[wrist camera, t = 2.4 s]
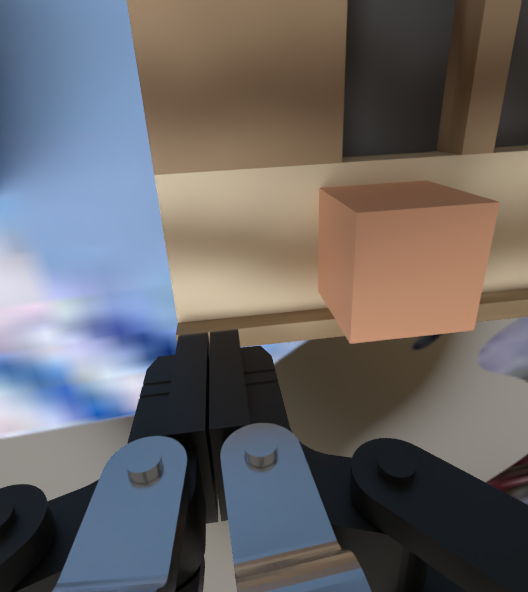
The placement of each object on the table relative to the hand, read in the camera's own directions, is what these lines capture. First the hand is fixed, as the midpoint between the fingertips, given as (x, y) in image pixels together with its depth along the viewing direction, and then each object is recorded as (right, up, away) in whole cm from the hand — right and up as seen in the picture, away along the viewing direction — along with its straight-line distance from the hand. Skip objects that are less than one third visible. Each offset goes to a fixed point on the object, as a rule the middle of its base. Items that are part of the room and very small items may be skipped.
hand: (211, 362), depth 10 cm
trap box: (+7, +9, +9) cm, 15 cm away
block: (+6, +5, +8) cm, 11 cm away
